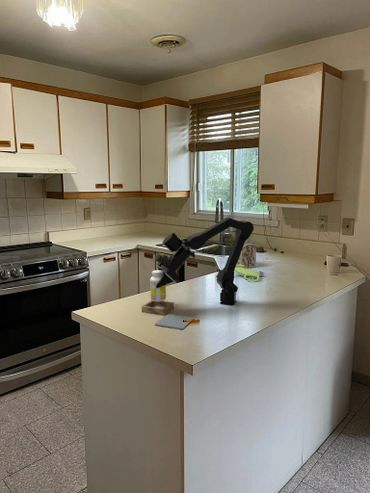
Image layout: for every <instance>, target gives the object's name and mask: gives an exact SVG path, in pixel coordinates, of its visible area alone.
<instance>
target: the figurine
mask: <svg viewBox="0 0 370 493" xmlns="http://www.w3.org/2000/svg"><path fill="white" fill-rule="evenodd" d="M240 267H242V268H240ZM244 267H245V266H244V265H241V264H238V265H236V267H235V270H234V272H236V273H238V274H240V275H242V277H243V278H244V279H245V280H247V282H250V283H258V281H260V277H264V275H265V272H263V271H260V270H259V271H256V270H252V269H250V268H247V269H246V268H244ZM251 279H252V280H251Z"/></svg>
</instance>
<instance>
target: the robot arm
mask: <svg viewBox="0 0 370 493" xmlns="http://www.w3.org/2000/svg"><path fill="white" fill-rule="evenodd" d="M254 227H255V226H254V224H253V223H252V222H250V221H249V220H248V221H247V220H242V219H241V220H237V219H234V218H231V217H225V218H224V219H222V220H220V221H219V222H216V223H215V224H214V225H212V226H210V227H208V228H207V229H205V230H203V231H200V232H197V233H194V234H190V235H188V236H187V237H186V238H182V239H181V238H179V237H178V235H177V234H176V233H175V232H172V233H171V234H169V235H167V236H166V237H165V238H163V240H162V245H164V246H165V248H166V249H168V250H169V251H170V252H171V253H173V252H175V253H174V254H173V255H170V256H168V255H167V254H162V253H158V252H157V253H156V255H155V258H154V260H155V262H157V270H161V271H163V275H162V278H161V279H160V281H159V282H158V284H157V285H156V288H160V287H162V286H164V285H168V284H171V283H174V282H175V283H177V282H178V281H179V280H180V275H178V273H177V271H178V270H179V269H180V268H183V267H184V264H185V262H186V261H187V260H188V259H189V258H190V257H191V258H192V259H195V258H196V255H195V253H196V251H197V250H199V249H200V248H202V247H203V246H204V245H205V244H206V243H207V242H208V241H209V240H210V239H212V238H214V237H216V236H217V235H219V234H220V233H222V232H224V231H225V230H227V229H229V228H233V229H235V231H234V232H235V233H234V235H235V237H234V241H233V243H232V246H231V250H230V252H229V254H228V257H227V259H226V263H225V265H224V267H223V268H221V269H220V268H219V269H218V270H217V271H218V272H217V274H216V276H215V278H216V283H217V285H219V287H220V289H221V290H220V291H221V292H220V293H219V301H220V302H219V304H220V305H228V306H234V305H235V304H236V303H238V300H237V292H238V290H239V287H238V286H237V285H236V284H235V283H234V282H235V271H234V270H235V267H236V265H237V262H238V259H239V257H240V254H241V251H242V249H243V246H244V243H245V241H246V240H248V239H249V238H250V237H251V235H252V234H253V232H254V230H255V228H254Z"/></svg>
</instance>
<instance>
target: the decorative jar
mask: <svg viewBox="0 0 370 493" xmlns="http://www.w3.org/2000/svg"><path fill="white" fill-rule="evenodd" d="M256 262H257V248H256V246H255V245H254V243H252V242H250V241H248V239H247V240H246V241H245V243H244V246H243V249H242V251H241V254H240V257H239V259H238V262H237V265H238V264H241V265H244V266H245V267H244V268H246V269H254V268H256V266H257V265H256V264H257V263H256ZM240 268H242V267H240Z"/></svg>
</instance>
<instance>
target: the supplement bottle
mask: <svg viewBox="0 0 370 493" xmlns="http://www.w3.org/2000/svg"><path fill="white" fill-rule="evenodd" d="M151 274H152V276H151V277H150V279H149V282H150V283H149V286H150V287H149V288H150V289H149V290H150V301H151V300H152V301H155V302H160V301H166V300H167V294H166V293H167V291H166V290H167V289H166V288H167V286H166V285H167V284H166V285H164V286H162V287H160V288H156V285H157V284H158V282H159V281H160V279H161V278H162V275H163V271H161V270H158V269H156V270H152V271H151Z"/></svg>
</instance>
